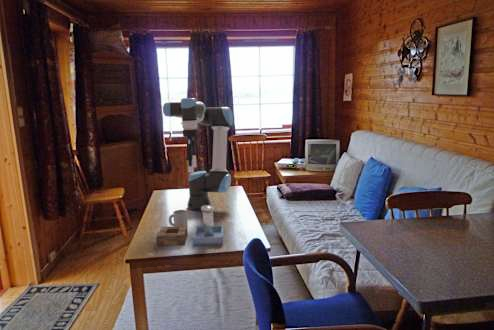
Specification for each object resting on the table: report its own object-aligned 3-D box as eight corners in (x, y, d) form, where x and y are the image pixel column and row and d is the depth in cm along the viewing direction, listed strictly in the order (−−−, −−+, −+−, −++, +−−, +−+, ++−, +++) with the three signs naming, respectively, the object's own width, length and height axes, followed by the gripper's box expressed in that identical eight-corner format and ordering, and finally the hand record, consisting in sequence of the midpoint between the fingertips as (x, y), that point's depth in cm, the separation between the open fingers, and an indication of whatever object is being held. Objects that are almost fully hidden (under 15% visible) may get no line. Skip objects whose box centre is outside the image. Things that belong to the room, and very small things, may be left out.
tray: (196, 233, 188) (196, 226, 188) (223, 232, 189) (223, 225, 188) (193, 245, 173) (192, 238, 172) (222, 244, 173) (222, 236, 172)
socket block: (162, 236, 186) (161, 226, 185) (187, 234, 187) (187, 225, 186) (157, 246, 174) (156, 236, 173) (184, 245, 174) (183, 235, 173)
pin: (203, 234, 184) (201, 205, 181) (215, 233, 184) (214, 204, 181) (202, 239, 177) (200, 209, 174) (215, 238, 177) (213, 208, 175)
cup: (188, 228, 195) (187, 213, 194) (169, 231, 193) (168, 215, 192) (187, 224, 202) (186, 209, 201) (169, 226, 200) (167, 211, 199)
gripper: (185, 127, 196) (188, 165, 200) (178, 131, 172) (181, 175, 176) (199, 126, 196) (201, 165, 200) (194, 130, 172) (197, 174, 176)
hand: (192, 169), depth 188 cm, fingers open, 13 cm apart
